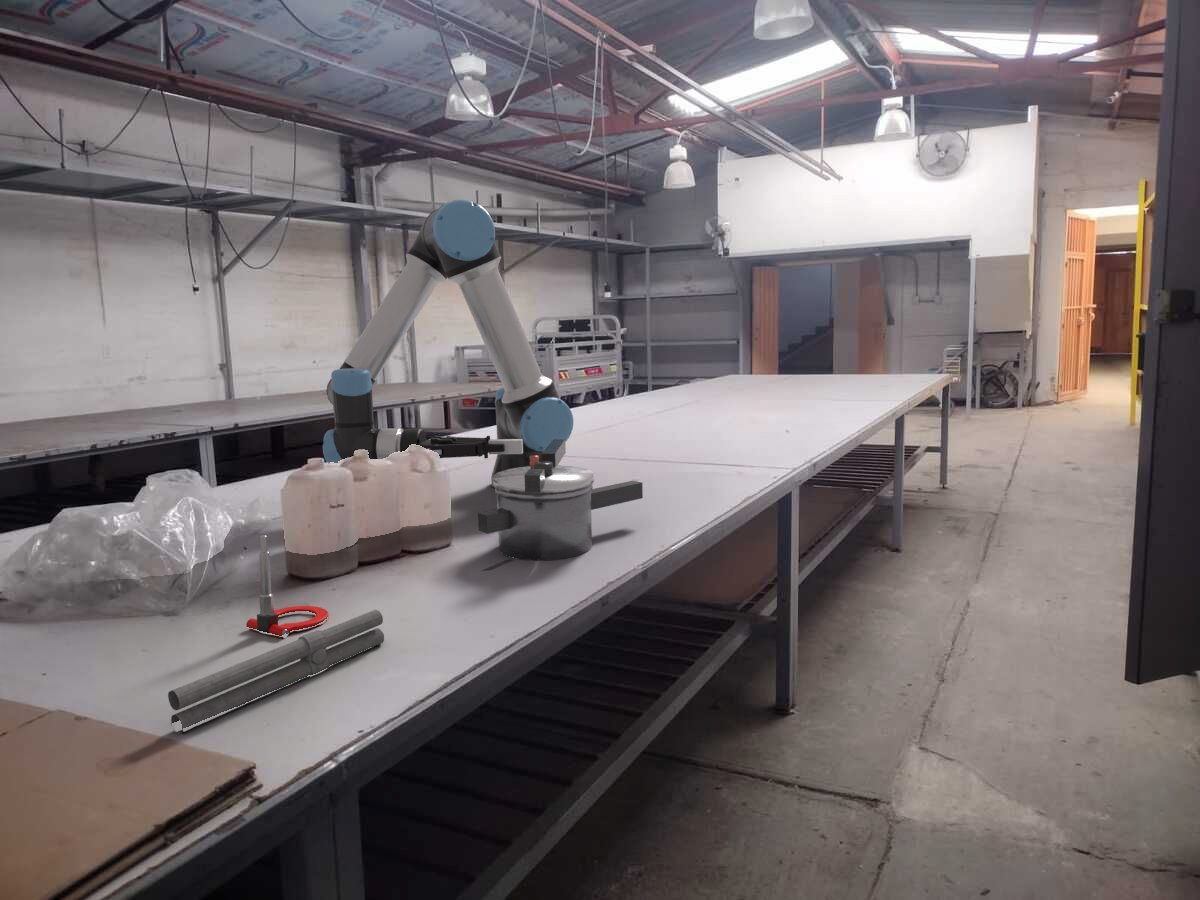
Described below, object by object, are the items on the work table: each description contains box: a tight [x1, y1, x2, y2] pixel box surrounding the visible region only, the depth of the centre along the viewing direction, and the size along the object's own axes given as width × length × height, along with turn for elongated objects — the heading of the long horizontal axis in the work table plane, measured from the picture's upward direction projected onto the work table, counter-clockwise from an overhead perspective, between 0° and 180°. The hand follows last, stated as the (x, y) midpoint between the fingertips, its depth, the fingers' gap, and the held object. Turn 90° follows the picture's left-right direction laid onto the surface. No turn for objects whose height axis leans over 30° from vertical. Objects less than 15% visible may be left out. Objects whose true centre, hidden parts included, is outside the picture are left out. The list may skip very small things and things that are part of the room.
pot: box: [477, 480, 644, 562], centre depth 141 cm, size 26×26×11 cm
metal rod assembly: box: [167, 609, 385, 729], centre depth 89 cm, size 26×3×5 cm, turn 146°
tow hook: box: [245, 534, 329, 636], centre depth 106 cm, size 8×13×9 cm
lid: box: [493, 439, 595, 494], centre depth 142 cm, size 35×17×4 cm, turn 176°
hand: (522, 446), depth 158 cm, fingers closed
